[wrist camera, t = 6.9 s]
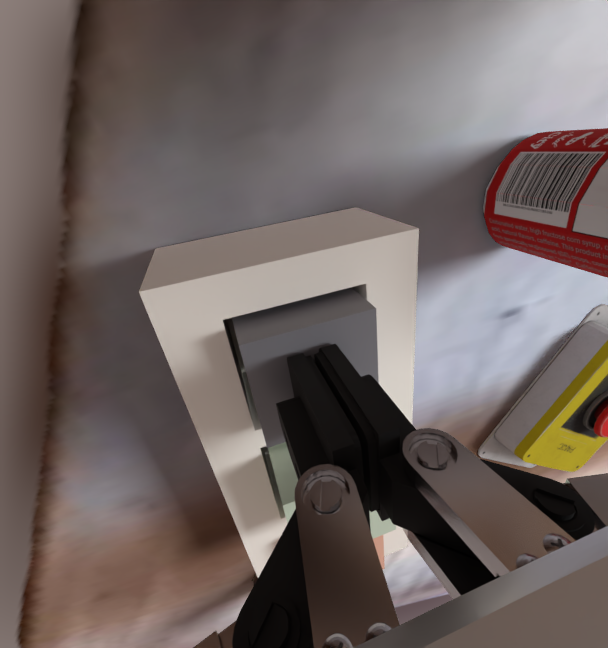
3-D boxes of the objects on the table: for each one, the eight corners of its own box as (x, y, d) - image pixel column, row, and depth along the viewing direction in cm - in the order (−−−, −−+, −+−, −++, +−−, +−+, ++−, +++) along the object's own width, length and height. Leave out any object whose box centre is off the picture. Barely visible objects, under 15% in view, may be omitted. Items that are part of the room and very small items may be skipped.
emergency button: (711, 362, 24) (572, 504, 29) (642, 334, 28) (528, 463, 32) (665, 323, 20) (511, 495, 25) (592, 296, 24) (468, 450, 28)
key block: (155, 248, 14) (138, 291, 9) (356, 207, 15) (419, 228, 11) (255, 523, 24) (269, 606, 19) (371, 480, 25) (407, 546, 21)
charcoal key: (226, 294, 13) (238, 345, 10) (331, 270, 14) (376, 308, 10) (250, 381, 15) (267, 448, 12) (339, 355, 16) (379, 410, 13)
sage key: (262, 425, 15) (282, 505, 12) (351, 396, 16) (396, 463, 12) (278, 486, 17) (300, 568, 14) (357, 457, 18) (395, 529, 15)
